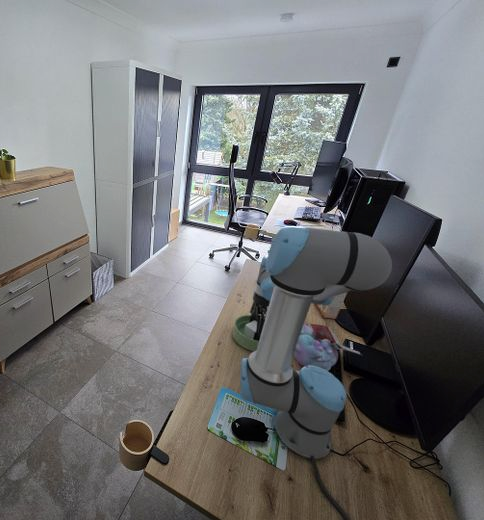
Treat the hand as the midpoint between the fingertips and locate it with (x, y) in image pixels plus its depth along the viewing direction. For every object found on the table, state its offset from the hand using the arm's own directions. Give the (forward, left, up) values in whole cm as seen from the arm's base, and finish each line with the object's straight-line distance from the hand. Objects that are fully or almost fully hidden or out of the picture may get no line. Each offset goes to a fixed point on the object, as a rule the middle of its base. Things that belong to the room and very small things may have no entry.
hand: (253, 336), depth 124 cm
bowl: (0, 0, -1) cm, 1 cm away
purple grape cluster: (-7, -22, -1) cm, 23 cm away
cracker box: (+27, -40, -1) cm, 48 cm away
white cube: (0, 0, 0) cm, 0 cm away
